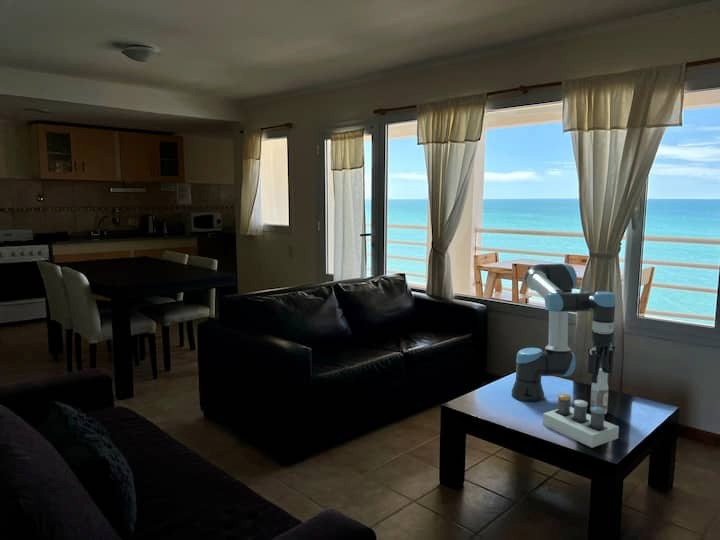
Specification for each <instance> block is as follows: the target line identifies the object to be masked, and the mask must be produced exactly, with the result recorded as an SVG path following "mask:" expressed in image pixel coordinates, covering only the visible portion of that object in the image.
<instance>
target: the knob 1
mask: <svg viewBox="0 0 720 540" xmlns="http://www.w3.org/2000/svg"><path fill="white" fill-rule="evenodd" d="M557 400H558V401H557V409H558V414H559V415H562V416H569V415H570V407H571V401H572V395H570V394H567V393H559V394H557Z"/></svg>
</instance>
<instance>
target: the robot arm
mask: <svg viewBox="0 0 720 540" xmlns="http://www.w3.org/2000/svg"><path fill="white" fill-rule="evenodd" d="M523 278H524V283H525V285H526V287H528V289H530V290H532V291H535V292H536V293H537V294H538V295H540V297H541V298H543V300H544V306H545V309H546V310H547V311H548V344H547V345H546V346H545V348H544V351H543V350H542V349H541V348H538V347H525V348H522V349H520V350H518V352H517V353H516V359H515V361H516V363H515V364H516V367H515V368H516V369H515V381H514V384H513V387H512V389H511V397H513V398H514V399H515V400H516V399H517V400H518V401H522V402H527V403H528V402H529V403H535V402H536V403H537V402H542V401H544V399H545V391H544V389H543V385H542V377H560V378H561V377H568V376H569V377H570V376H571V375H572V374H573V373H574V370H575V369H576V364H577V363H576V360H577V359H576V355H575V354H574V352H572V349H571V348H570V347H569V344H568V339H569V337H568V336H569V333H568V332H569V312H570V313H571V312H577V313H579V312H585V313H587V312H590V313H592V323H591V324H592V325H591V330H592V332H591V341H592V342H593V346H592V348H591V349H590V348H588V349H587V354H588V363H587V368H588V369H587V373H588V374H590V375H591V386H592V390H594V391H597V392H599V381H600V388H602V389H605V390H606V389H607V383H608V379H609V374H611V373H612V371H613V367H614V366H613V365H614V354H615V349H616V345H612V343H613V342H614V333H613V332H614V329H615V326H614V325H615V324H614V323H615V313H616V304H617V303H616V294H615V293H614V292H610V291H603V290H602V291H596V292H594V291H584V292H573V289H576V287H577V284H578V276H577V273H576V270H575V268H574V267H573V266H572V265H571V264H568V263H567V264H566V263H554V264H553V263H545V264H544V263H541V264H540V263H538V264H535V265H533V266H531V267H530V268H528V269H527V271H526V272H525V274H524V277H523ZM600 367H601V368H602V371H603V372H600V375H598V374H599V369H600Z"/></svg>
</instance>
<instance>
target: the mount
mask: <svg viewBox="0 0 720 540" xmlns="http://www.w3.org/2000/svg"><path fill="white" fill-rule="evenodd" d="M573 419H574V407H572V406H570V415H569V416H562V415H559V414H558V408H556V409H554V410H550V411H549V410H548V411H547V412H542V426H545V427H547V428H550V429H551V430H553V431H555V432H558V433H560V434H562V435H563V436H566V437H568V438H571V439H572V440H575V441H577V442H579V443H581V444H583V445H586V446H587V447H589V448H596V447H598V446H601V445H603V444H606V443H609V442H612V441H615V440H617V439H619V431H620V427H619V425H616V424H614V423H611V422H608V421H606V420H604V430H602V431H596V430H594V429H592V428H590V424H591V414H590V413H587V414H586V423H578V422H576V421H574V420H573Z"/></svg>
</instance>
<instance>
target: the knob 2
mask: <svg viewBox="0 0 720 540" xmlns="http://www.w3.org/2000/svg"><path fill="white" fill-rule="evenodd" d="M588 405H589V404H588V401H586V400H583V399H574V400H573V408H574V419H573V420H574V421H576V422H578V423H586V414H588V413H587V410H588Z"/></svg>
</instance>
